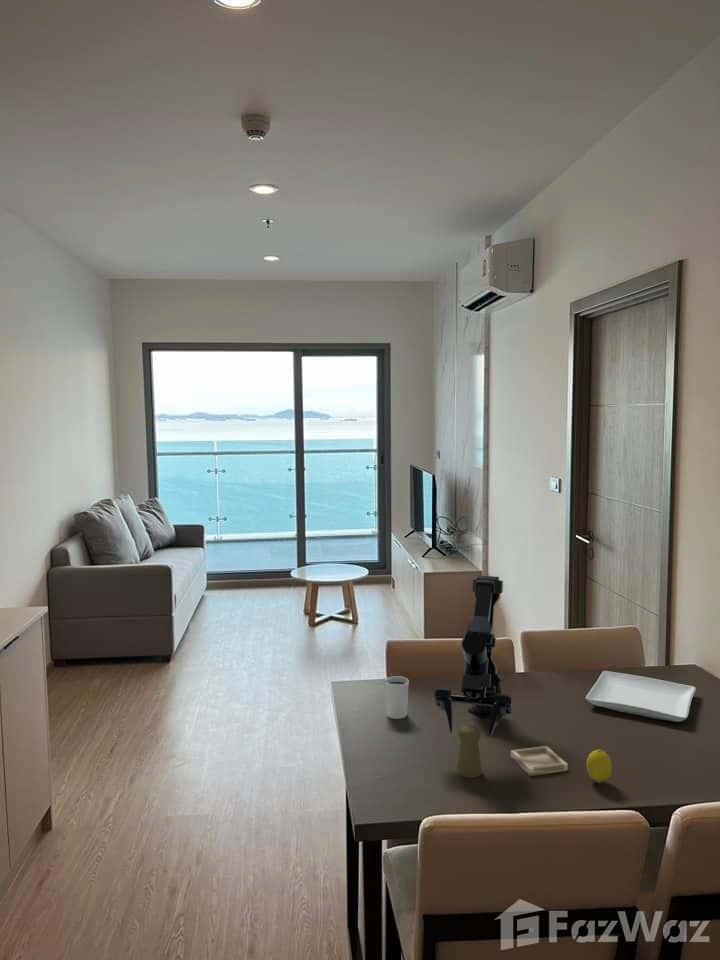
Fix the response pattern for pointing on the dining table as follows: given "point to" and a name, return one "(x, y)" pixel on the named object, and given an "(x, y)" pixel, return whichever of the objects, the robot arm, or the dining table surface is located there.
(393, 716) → the drinking glass
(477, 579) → the robot arm
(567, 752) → the dining table surface
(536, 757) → the holder
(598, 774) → the lemon
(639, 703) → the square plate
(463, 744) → the olive green cylinder
